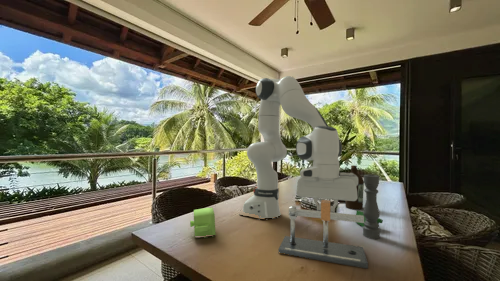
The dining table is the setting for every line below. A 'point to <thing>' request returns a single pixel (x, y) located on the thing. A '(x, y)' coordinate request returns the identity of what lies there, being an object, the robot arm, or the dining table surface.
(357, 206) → the olive oil
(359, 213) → the clamp
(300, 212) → the dividers frame
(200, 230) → the gearbox
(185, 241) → the dining table surface
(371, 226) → the candle holder
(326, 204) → the leg
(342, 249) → the bolt plate
